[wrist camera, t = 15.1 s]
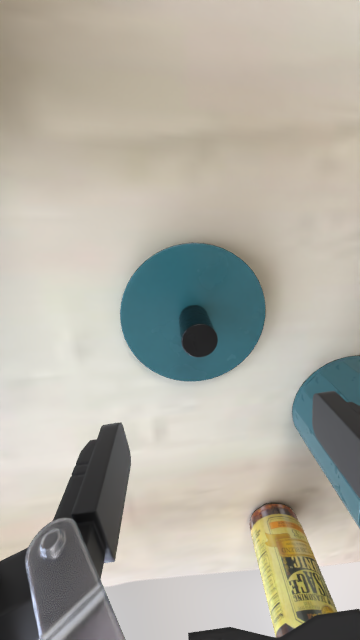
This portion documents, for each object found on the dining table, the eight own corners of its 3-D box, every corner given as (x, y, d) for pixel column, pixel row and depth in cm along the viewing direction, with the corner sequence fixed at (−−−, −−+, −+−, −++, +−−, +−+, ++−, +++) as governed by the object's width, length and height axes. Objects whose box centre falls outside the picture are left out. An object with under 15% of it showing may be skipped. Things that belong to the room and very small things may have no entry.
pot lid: (106, 256, 22) (84, 265, 16) (257, 230, 21) (288, 231, 16) (138, 384, 26) (130, 427, 20) (264, 363, 26) (291, 401, 20)
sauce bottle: (304, 508, 33) (478, 871, 14) (275, 537, 35) (397, 894, 16) (263, 492, 32) (398, 866, 13) (235, 522, 34) (319, 893, 15)
